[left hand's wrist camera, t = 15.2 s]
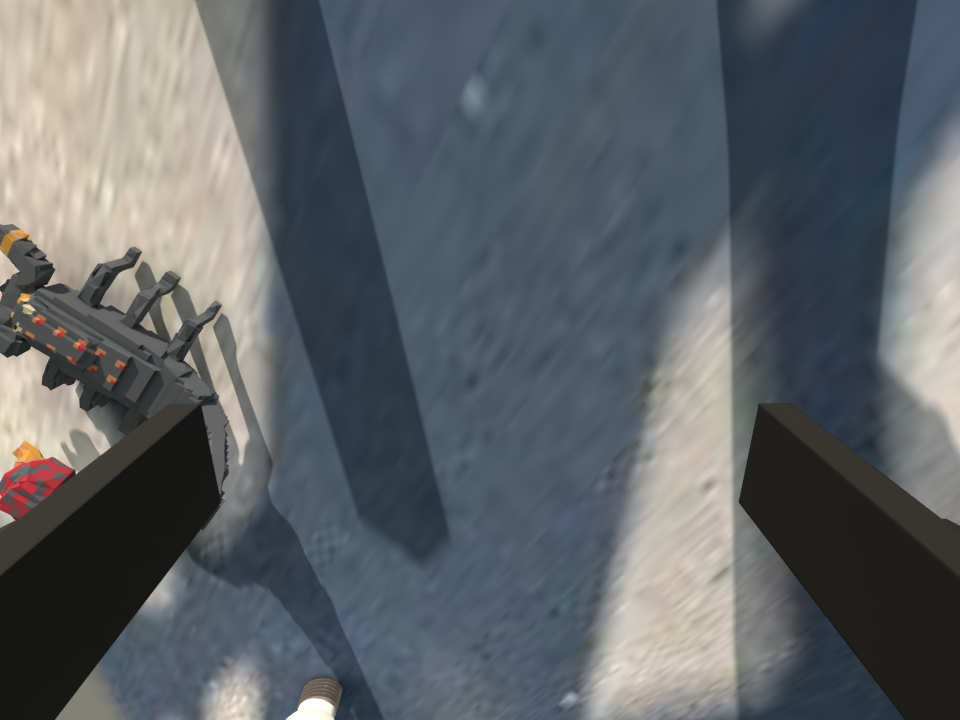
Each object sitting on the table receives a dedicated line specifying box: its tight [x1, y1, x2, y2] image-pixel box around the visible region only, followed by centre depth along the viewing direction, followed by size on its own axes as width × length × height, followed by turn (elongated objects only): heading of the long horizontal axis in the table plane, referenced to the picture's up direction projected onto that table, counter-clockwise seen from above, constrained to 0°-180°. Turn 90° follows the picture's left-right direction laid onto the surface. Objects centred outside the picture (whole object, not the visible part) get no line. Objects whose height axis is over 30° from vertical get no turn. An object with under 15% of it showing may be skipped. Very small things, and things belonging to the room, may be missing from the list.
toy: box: [0, 224, 229, 530], centre depth 33 cm, size 13×27×18 cm, turn 52°
